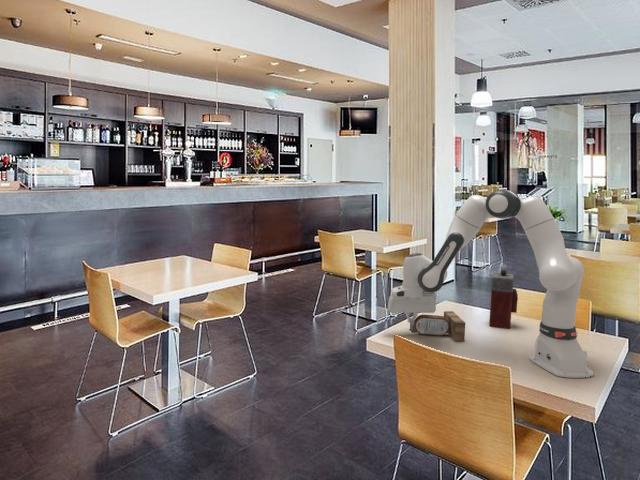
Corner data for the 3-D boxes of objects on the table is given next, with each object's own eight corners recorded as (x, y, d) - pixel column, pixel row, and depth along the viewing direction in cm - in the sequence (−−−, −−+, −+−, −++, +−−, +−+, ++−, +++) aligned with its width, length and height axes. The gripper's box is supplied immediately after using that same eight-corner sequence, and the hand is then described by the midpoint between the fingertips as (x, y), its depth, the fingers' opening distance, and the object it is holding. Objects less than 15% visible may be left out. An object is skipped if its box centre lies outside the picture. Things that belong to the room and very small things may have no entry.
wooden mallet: (464, 341, 201) (465, 322, 200) (419, 341, 200) (419, 323, 199) (451, 328, 217) (452, 311, 216) (409, 328, 216) (410, 311, 215)
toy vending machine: (515, 329, 216) (520, 268, 212) (489, 326, 220) (493, 266, 216) (515, 323, 225) (520, 264, 220) (490, 320, 229) (494, 262, 224)
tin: (448, 334, 209) (449, 315, 208) (449, 337, 206) (451, 317, 205) (413, 332, 210) (414, 313, 209) (413, 334, 207) (415, 315, 206)
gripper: (434, 289, 210) (432, 319, 212) (387, 289, 209) (386, 319, 211) (438, 292, 204) (436, 324, 206) (390, 292, 203) (389, 324, 205)
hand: (411, 322), depth 209 cm, fingers closed
